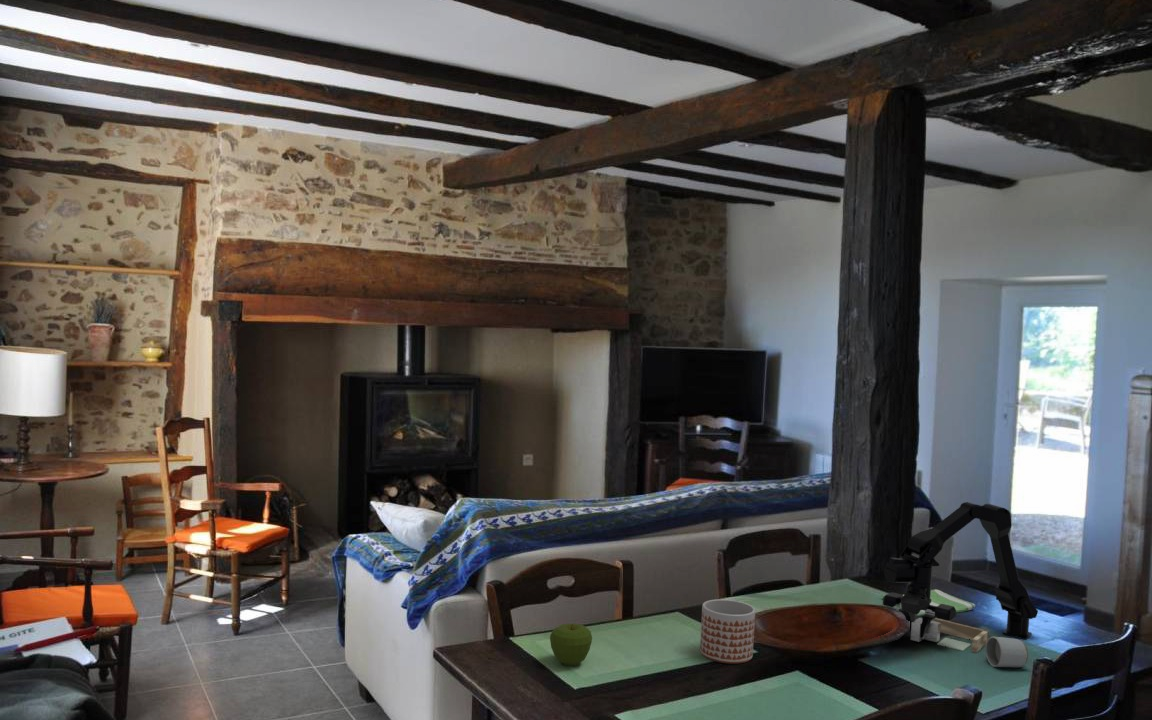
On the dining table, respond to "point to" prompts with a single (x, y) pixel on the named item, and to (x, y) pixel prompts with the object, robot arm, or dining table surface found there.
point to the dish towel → (946, 602)
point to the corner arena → (965, 633)
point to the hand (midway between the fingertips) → (916, 636)
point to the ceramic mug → (1006, 652)
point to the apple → (571, 643)
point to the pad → (954, 644)
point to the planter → (727, 631)
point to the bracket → (930, 634)
